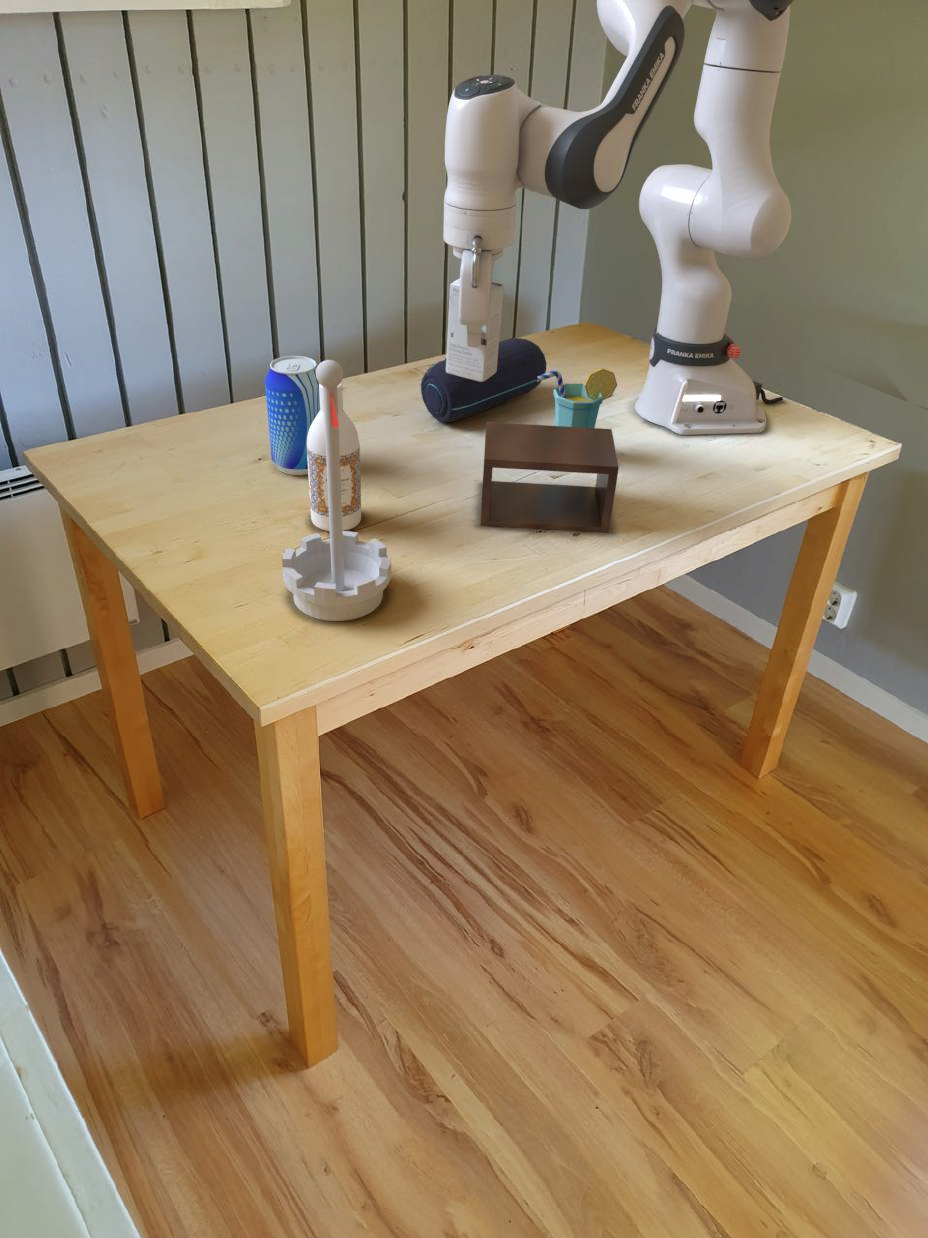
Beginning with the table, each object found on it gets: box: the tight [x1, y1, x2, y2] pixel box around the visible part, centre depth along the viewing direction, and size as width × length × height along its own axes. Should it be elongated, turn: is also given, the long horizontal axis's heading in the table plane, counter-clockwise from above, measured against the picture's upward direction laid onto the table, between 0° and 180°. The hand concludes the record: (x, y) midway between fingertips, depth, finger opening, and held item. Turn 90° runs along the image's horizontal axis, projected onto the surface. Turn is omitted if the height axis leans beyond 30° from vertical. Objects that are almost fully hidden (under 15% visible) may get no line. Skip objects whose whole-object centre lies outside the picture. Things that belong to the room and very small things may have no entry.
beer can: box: [264, 355, 320, 476], centre depth 142 cm, size 8×8×16 cm
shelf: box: [479, 421, 620, 534], centre depth 136 cm, size 18×12×10 cm, turn 87°
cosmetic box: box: [445, 277, 505, 382], centre depth 127 cm, size 6×4×12 cm
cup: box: [536, 367, 618, 428], centre depth 148 cm, size 14×8×15 cm, turn 119°
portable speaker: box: [420, 337, 547, 423], centre depth 164 cm, size 25×10×10 cm, turn 136°
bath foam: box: [307, 382, 362, 532], centre depth 128 cm, size 7×7×20 cm
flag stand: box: [281, 359, 392, 622], centre depth 110 cm, size 13×13×30 cm
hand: (474, 335), depth 127 cm, fingers closed on cosmetic box, 5 cm apart
